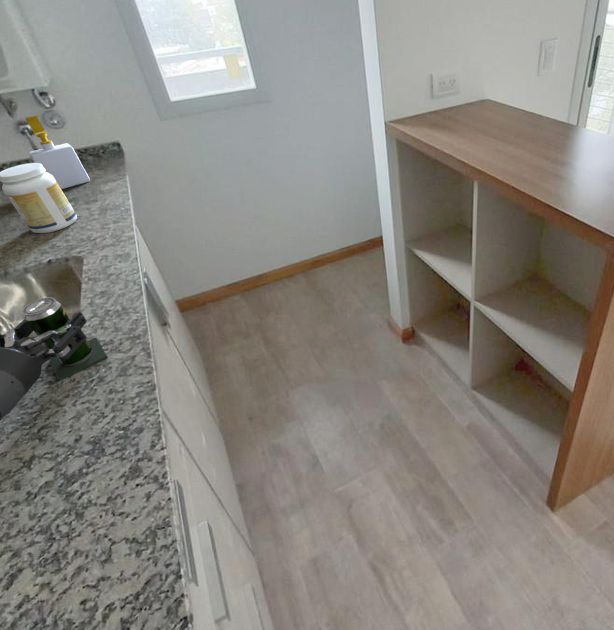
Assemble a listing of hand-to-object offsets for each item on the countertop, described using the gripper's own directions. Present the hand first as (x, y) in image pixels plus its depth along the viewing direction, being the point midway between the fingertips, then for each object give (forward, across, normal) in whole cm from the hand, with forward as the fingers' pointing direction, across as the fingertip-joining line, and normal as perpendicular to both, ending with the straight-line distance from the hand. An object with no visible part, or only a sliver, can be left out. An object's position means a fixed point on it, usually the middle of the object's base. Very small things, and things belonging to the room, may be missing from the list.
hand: (57, 318), depth 78 cm
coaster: (-2, 0, +8) cm, 9 cm away
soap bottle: (+97, +56, +9) cm, 113 cm away
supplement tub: (+62, +41, +9) cm, 75 cm away
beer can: (-2, 0, +8) cm, 8 cm away
